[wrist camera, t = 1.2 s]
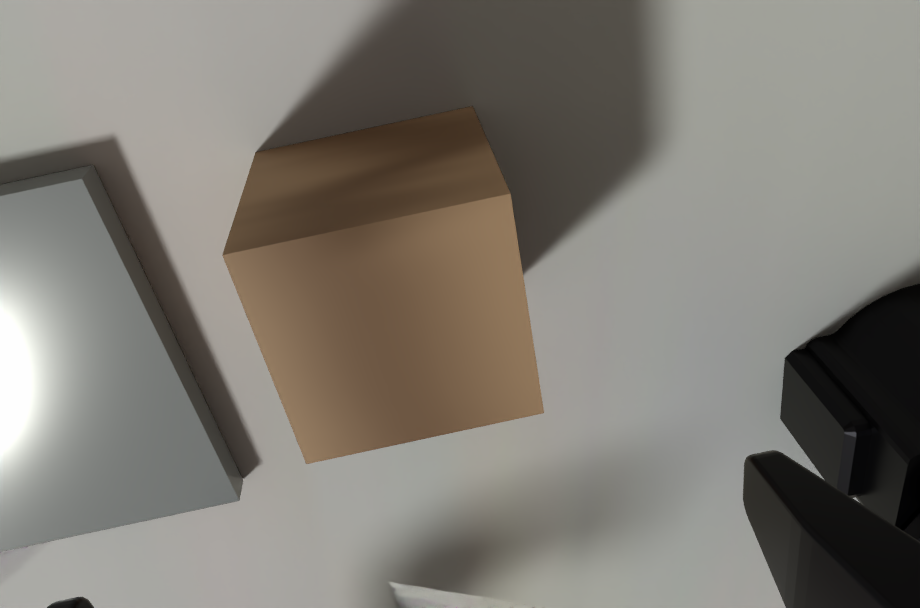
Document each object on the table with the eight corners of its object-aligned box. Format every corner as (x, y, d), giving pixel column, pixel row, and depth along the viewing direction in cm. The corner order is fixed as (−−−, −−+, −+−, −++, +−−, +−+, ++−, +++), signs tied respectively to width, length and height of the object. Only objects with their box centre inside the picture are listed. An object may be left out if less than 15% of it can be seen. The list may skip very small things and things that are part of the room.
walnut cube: (472, 104, 17) (510, 193, 13) (503, 289, 20) (543, 413, 15) (256, 151, 17) (222, 255, 13) (317, 329, 20) (306, 463, 15)
